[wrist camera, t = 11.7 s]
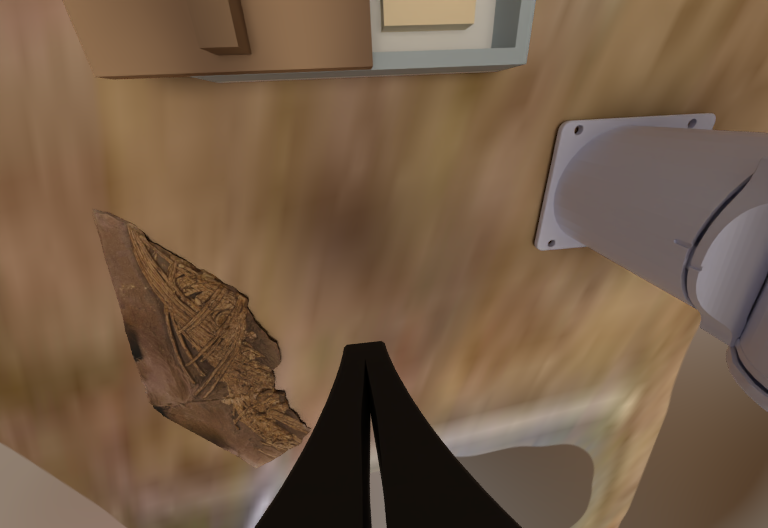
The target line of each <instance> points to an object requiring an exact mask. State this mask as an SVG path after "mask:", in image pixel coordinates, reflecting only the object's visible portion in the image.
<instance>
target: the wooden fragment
mask: <svg viewBox="0 0 768 528" xmlns="http://www.w3.org/2000/svg"><path fill="white" fill-rule="evenodd" d="M93 217H94V221H95V224H96V226H97V230H98V234H99V237H100V239H101V244H102V248H103V252H104V256H105V260H106V263H107V265H108V268H109V273H110V276H111V279H112V283H113V286H114V288H115V291H116V295H117V299H118V301H119V305H120V309H121V313H122V315H123V320H124V325H125V331H126V334H127V337H128V340H129V343H130V347H131V350H132V355H133V358H134V360H135V363H136V366H137V369H138V371H139V374H140V377H141V381H142V383H143V384H144V385H145V386H146V388H145V389H146V390H147V391H146V392H145V393H146V394H147V397H148V400H149V403H150V404H152V405H153V407H154V409H156V410H157V411H158V412H160V413H161V414H162V415H163V416H165V417H166V418H168V419H170V420H171V421H173V422H175V423H177V424H179V425H181V426H182V427H184V428H186V429H188V430H190V431H192V432H194V433H196V434H197V435H199V436H201V437H203V438H205V439H206V440H208V441H210V442H212V443H214V444H216V445H217V446H219V447H222V448H223V449H225V450H227V451H229V452H231V453H232V454H235V455H236V456H237V457H240V458H241V459H242V460H244V461H245V462H247V463H249V464H250V465H251V466H253V467H255V468H257V467H260V466H262V465H264V464H265V463H268V462H270V461H272V460H274V459H275V458H277V457H278V456H281V455H282V454H283V453H285V452H286V451H287V450H288V449H291V448H293V447H295V446H298V445H299V444H301V443H302V438H303V437H304V436H306V435H307V434H308V433H309V432H310V431H311V429H310V428H309V427H306V425H305V423H302V422H300V419H299V417H298V416H297V414H296V415H295V413H294V412H293V411H292V410H291V409H289V407H288V401H287V400H286V395H285V392H283V391H278V390H275V384H274V382H275V379H274V376H273V375H274V372H272V370H273V369H274V368H276V367H277V366H278V365H279V364H280V362H281V361H280V353H279V350H278V347H277V344H276V342H273V341H272V340H270V339H269V337H268V336H267V334H266V333H265V332H264V331H263V330H262V329H261V328H260V327H259V326H258V325H257V323H256V322H255V321H254V318H253V317H252V315H251V313H250V312H249V310H248V308H247V305H248V298H246V297H245V296H244V295H243V294H241V293H240V292H239V291H238V290H237V289H236V288H234V287H233V286H230V285H227V284H225V283H223V282H222V281H221V280H219V279H218V278H217V277H216V276H214V275H212V274H210V273H208V272H207V271H205V270H204V269H203V270H200V269H197V268H196V267H195V266H194V265H193V264H191V263H189V262H187V261H185V260H183V259H181V258H178V257H177V256H175V255H173V254H171V253H170V252H168V251H166V250H165V249H163V248H161V247H160V246H159V245H157V244H154V243H152V242H149V241H147V239H146V237H145V234H144V233H143V232H142V231H141V230H139V229H138V228H137V227H136V226H135V225H133V224H132V223H129V222H127V221H125V220H123V219H121V218H119V217H117V216H115V215H113V214H111V213H108V212H102V211H98V210H95V209H93Z"/></svg>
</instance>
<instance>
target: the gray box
mask: <svg viewBox="0 0 768 528" xmlns="http://www.w3.org/2000/svg"><path fill="white" fill-rule="evenodd" d="M535 2H536V0H370V17H371V37H372V57H373V67H372V69H371V70H345V71H319V72H293V73H267V74H241V75H215V76H190V77H193V78H198V79H203V80H208V81H212V82H217V83H230V82H254V81H279V80H304V79H329V78H354V77H379V76H403V75H428V74H453V73H478V72H497V71H501V70H505V69H509V68H512V67H516V66H520V65H524V64H526V62H527V55H528V49H529V42H530V36H531V29H532V22H533V16H534V9H535Z"/></svg>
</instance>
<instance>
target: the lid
mask: <svg viewBox="0 0 768 528" xmlns="http://www.w3.org/2000/svg"><path fill="white" fill-rule="evenodd" d="M62 1H63V3H64V5H65V8H66V10H67V12H68V15H69V17H70V20H71V22H72V24H73V27H74V29H75V31H76V34H77V36H78V39H79V41H80V43H81V46H82V48H83V50H84V53H85V55H86V58H87V60H88V62H89V65H90V67H91V69H92V72H93V74H94V76H95V77H100V78H107V79H137V78H163V77H189V76H215V75H241V74H267V73H293V72H319V71H345V70H371V69H372V67H373V57H372V37H371V17H370V0H62Z"/></svg>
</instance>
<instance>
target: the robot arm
mask: <svg viewBox="0 0 768 528" xmlns="http://www.w3.org/2000/svg"><path fill="white" fill-rule="evenodd" d="M715 120H716V117H715V115H714V114H713V113H698V114H680V115H661V116H643V117H624V118H606V119H587V120H569V121H565V122H564V123H562V124H561V126H560V127H559V130H558V134H557V139H556V143H555V148H554V153H553V158H552V162H551V167H550V172H549V177H548V181H547V186H546V191H545V196H544V200H543V205H542V210H541V214H540V219H539V224H538V229H537V233H536V238H535V247H536V248H537V249H539V250H542V251H543V250H554V249H566V248H577V247H589V248H591V249H592V250H594V251H596V252H598V253H599V254H601V255H603V256H605V257H606V258H608V259H610V260H612V261H613V262H615V263H617V264H618V265H620V266H622V267H624V268H625V269H627V270H629V271H631V272H632V273H634V274H636V275H638V276H639V277H641V278H643V279H645V280H646V281H648V282H650V283H652V284H653V285H655V286H657V287H659V288H660V289H662V290H664V291H666V292H667V293H669V294H671V295H673V296H674V297H676V298H678V299H680V300H681V301H683V302H685V303H687V304H688V305H690V306H692V307H694V308H696V309H697V310H698V311H699V312H700V314H701V322H700V328H701V329H703V330H705V331H706V332H708V333H709V334H711V335H712V336H714V337H716V338H717V339H719V340H721V341H722V342H724V343H725V344H727V345H729V346H728V349H727V351H726V362H727V365H728V368H729V371H730V373H731V374H732V376H733V378H734V379H735V381H736V382H737V383H738V385H739V386H740V387H741V388H742V389H743V391H744V392H745V393H746V394H747V395H748V396H749V397H750V398H752V399H753V400H754V401H755V402H756V403H758V405H760V407H762V408H763V409H765V410H766V411H767V412H768V133H762V132H743V131H725V130H712V128H713V126H714V123H715ZM689 121H690V123H689ZM688 123H689V125H688ZM577 126H578V127H579V129H578V132H577V133H576V134H575V133H574V130H575V128H576V127H577ZM550 240H552V241H551V243H550V244H548V242H549V241H550ZM370 413H371V419H372V425H373V431H374V437H375V443H376V449H377V455H378V461H379V467H380V473H381V479H382V486H383V493H384V502H385V512H386V523H387V528H522V527H521V526H519V524H518V523H516V522H515V520H514V519H512V518H511V517H510V516H509V515H508V514H507V513H506V512H505V511H504V510H503V509H502V508H501V507H500V506H499V504H498V503H497V502H496V501H494V499H493V498H492V497H491V496H490V495H489V494H488V493H487V492H486V491H485V490H484V489H483V488H482V487H481V486H480V485H479V483H478V482H477V481H476V480H475V479H474V478H473V477H472V476H471V474H470V473H469V472H468V471H467V470H466V469H465V468H464V467H463V465H462V464H461V463H460V462H459V461H458V460H457V459H456V458H455V456H454V455H453V454H452V453H451V451H450V450H449V449H448V448H447V446H446V445H445V444H444V443H443V442H442V440H441V439H440V438H439V436H438V435H437V434H436V432H435V431H434V430H433V428H432V427H431V426H430V424H429V423H428V422H427V420H426V419H425V417H424V416H423V414H422V413H421V411H420V410H419V408H418V407H417V405H416V404H415V402H414V401H413V399H412V398H411V396H410V394H409V393H408V391H407V389H406V388H405V386H404V384H403V382H402V381H401V379H400V377H399V375H398V373H397V372H396V370H395V368H394V366H393V363H392V361H391V359H390V357H389V354H388V352H387V349H386V346H385V343H384V342H382V341H378V342H369V343H359V344H350V345H346V346H345V347H344V351H343V356H342V360H341V364H340V367H339V370H338V373H337V376H336V379H335V381H334V384H333V387H332V389H331V392H330V394H329V397H328V399H327V402H326V404H325V406H324V408H323V411H322V413H321V415H320V417H319V419H318V422H317V424H316V426H315V428H314V430H313V432H312V434H311V436H310V438H309V440H308V442H307V444H306V445H305V447H304V449H303V451H302V453H301V455H300V456H299V458H298V460H297V462H296V463H295V465H294V467H293V468H292V470H291V472H290V474H289V475H288V477H287V479H286V480H285V482H284V484H283V485H282V487H281V488H280V490H279V492H278V493H277V495H276V496H275V498H274V500H273V501H272V503H271V504H270V506H269V507H268V508H267V510H266V511H265V513H264V514H263V516H262V517H261V519H260V520H259V522H258V523H257V525H256V526H255V528H372V526H371V509H370Z"/></svg>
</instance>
